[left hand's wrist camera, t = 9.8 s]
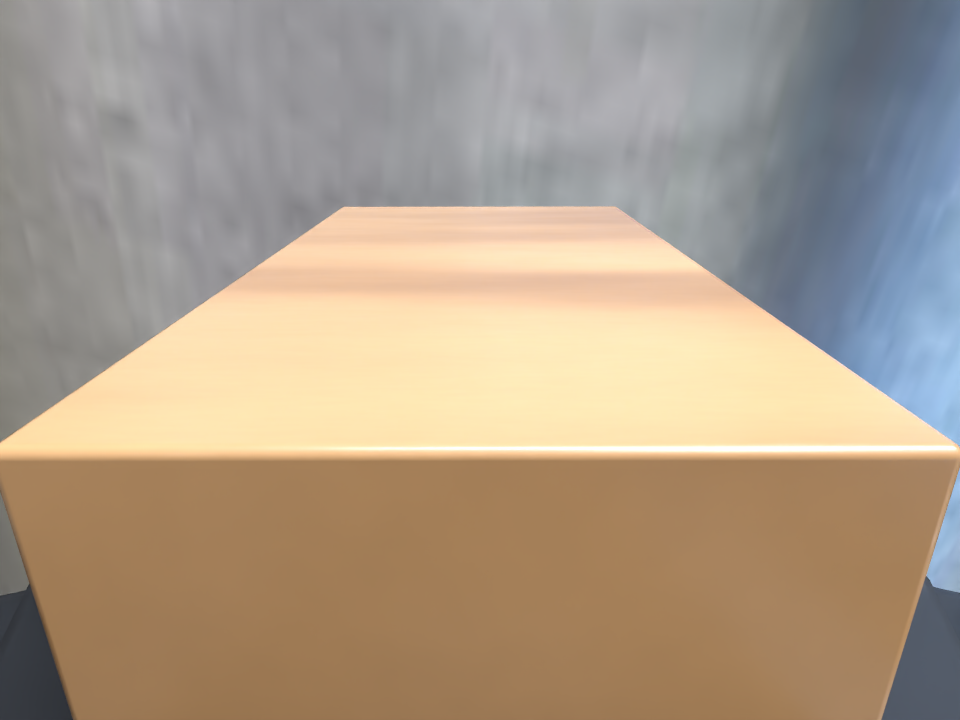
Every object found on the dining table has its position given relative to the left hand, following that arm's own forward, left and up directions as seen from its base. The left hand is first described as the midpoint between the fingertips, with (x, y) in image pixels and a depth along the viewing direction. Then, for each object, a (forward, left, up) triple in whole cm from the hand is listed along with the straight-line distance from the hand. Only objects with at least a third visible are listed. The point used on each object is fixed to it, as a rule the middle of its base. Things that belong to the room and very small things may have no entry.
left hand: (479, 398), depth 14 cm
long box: (+9, -1, -1) cm, 9 cm away
